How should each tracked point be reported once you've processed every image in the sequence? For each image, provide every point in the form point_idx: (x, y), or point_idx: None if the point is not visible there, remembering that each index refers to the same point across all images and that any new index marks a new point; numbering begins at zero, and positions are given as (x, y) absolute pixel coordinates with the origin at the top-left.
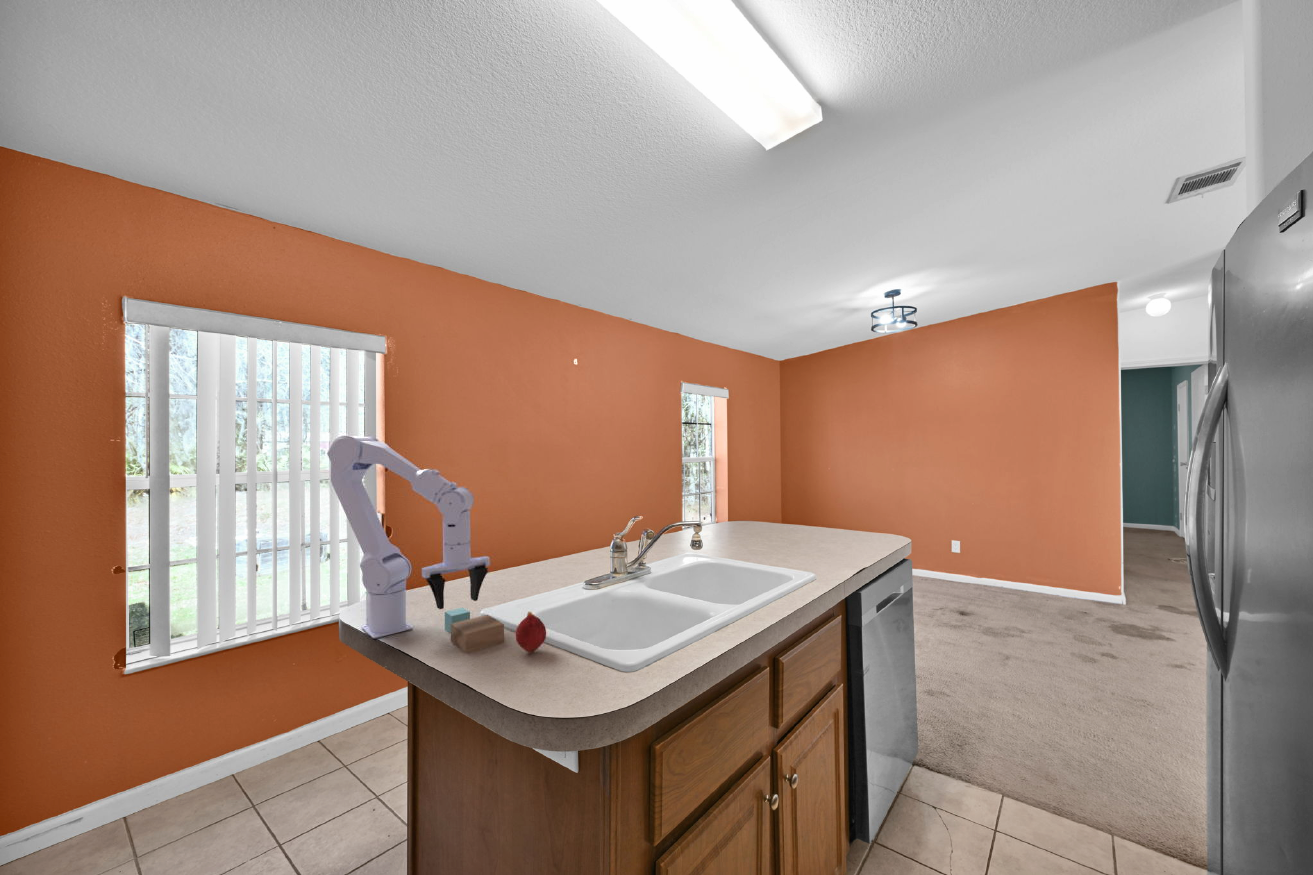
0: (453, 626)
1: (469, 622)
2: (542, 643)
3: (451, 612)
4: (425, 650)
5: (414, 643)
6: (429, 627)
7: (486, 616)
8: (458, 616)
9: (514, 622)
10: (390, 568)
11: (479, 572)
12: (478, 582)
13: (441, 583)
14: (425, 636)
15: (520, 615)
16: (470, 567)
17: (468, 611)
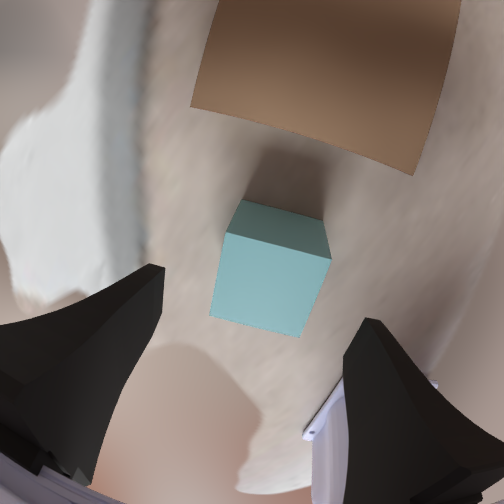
0: (426, 133)
1: (347, 88)
2: None
3: (289, 306)
4: (476, 179)
5: (442, 268)
6: (310, 344)
7: (216, 81)
8: (294, 245)
9: (88, 104)
10: None
11: (18, 379)
12: (84, 325)
13: (464, 442)
14: (382, 290)
15: (41, 156)
16: (81, 496)
17: (228, 241)
